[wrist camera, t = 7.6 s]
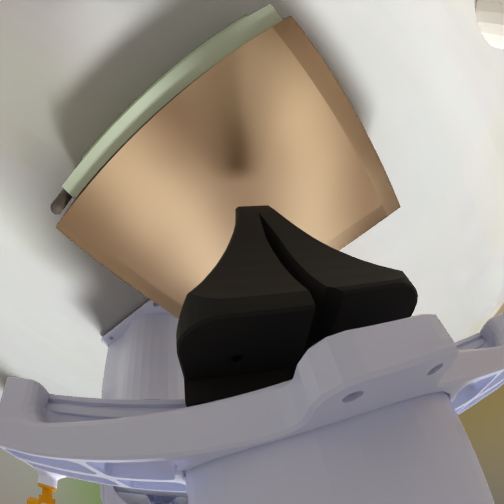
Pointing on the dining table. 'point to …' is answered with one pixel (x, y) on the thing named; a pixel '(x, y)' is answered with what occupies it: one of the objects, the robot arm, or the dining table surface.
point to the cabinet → (231, 169)
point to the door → (168, 92)
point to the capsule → (491, 21)
